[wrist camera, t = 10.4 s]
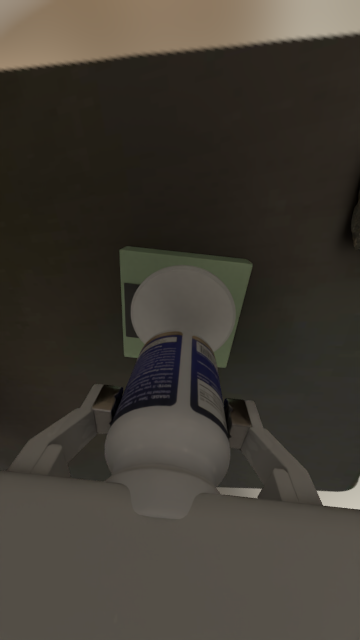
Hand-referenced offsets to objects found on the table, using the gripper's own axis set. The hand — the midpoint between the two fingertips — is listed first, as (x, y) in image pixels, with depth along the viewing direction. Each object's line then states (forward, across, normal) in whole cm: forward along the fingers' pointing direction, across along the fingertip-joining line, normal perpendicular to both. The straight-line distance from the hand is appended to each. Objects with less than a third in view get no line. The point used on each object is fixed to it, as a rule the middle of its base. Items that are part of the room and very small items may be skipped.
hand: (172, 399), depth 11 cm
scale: (+13, 0, 0) cm, 13 cm away
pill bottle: (+5, 0, +1) cm, 5 cm away
